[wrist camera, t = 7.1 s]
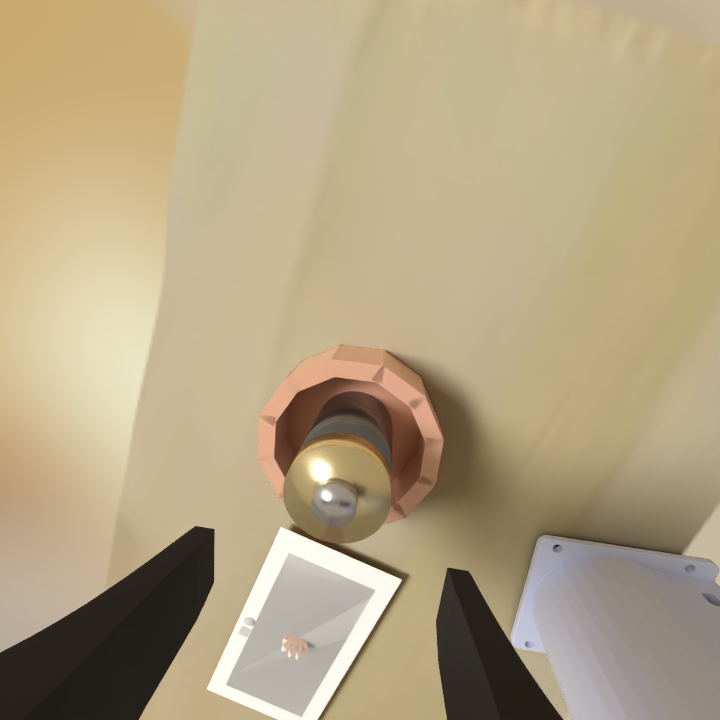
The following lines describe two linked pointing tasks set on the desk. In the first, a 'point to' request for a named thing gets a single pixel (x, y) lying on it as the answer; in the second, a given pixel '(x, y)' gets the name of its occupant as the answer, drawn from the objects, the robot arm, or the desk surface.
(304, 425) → the peach round shallow bowl
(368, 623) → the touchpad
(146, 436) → the desk surface
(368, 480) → the battery
